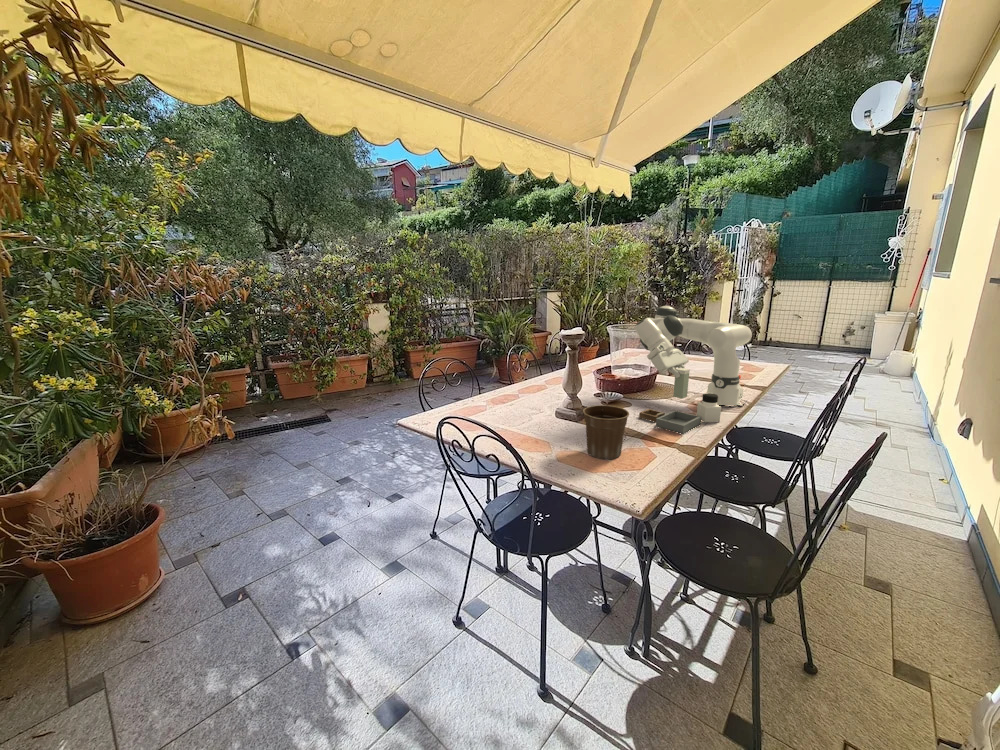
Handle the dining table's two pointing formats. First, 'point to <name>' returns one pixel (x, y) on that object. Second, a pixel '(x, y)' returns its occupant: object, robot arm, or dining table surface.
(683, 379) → the green rectangular block
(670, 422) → the tray
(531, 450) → the dining table surface
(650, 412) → the tray
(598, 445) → the plant pot
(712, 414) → the medicine bottle
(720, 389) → the robot arm
